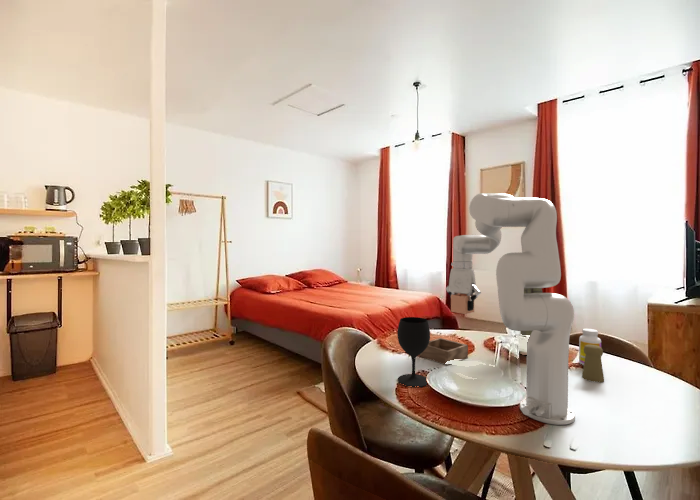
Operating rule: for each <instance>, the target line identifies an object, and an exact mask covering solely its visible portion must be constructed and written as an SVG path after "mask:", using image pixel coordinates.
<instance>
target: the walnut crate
mask: <svg viewBox="0 0 700 500" xmlns="http://www.w3.org/2000/svg"><path fill="white" fill-rule="evenodd" d="M419 357H420V358H424V359H427V360H430V361H432V362H437V363H439V364H442V365H445V363H446V362H447V361H450V360H454V359H464V360H466V359H468V358H469V345H468V344H465V343H461V342H457V341H453V340H449V339H446V338H442V337H439V338H436V339H432V340H431V339H430V341H429V344H428V346H427V348H426V349H425V350H424V351H423V352H422V353H421V354H420V355H419Z"/></svg>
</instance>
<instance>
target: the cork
mask: <svg viewBox="0 0 700 500" xmlns="http://www.w3.org/2000/svg"><path fill="white" fill-rule="evenodd" d="M584 353H585V354H586V356H585V362H584V365H583V369H582V374H581V378H582V379H583V380H585V381H587V382H591V383H592V382H593V383H600V384H601V383H604V382H605V376H604V370H603V364H602V363H603V362H602V356H603V354H604V350H603V348H602V346H601V347H599V346H596V345H586V346H585V347H584Z"/></svg>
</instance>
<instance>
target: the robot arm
mask: <svg viewBox="0 0 700 500" xmlns="http://www.w3.org/2000/svg"><path fill="white" fill-rule="evenodd" d="M468 209H469V210H468V211H469V214H470V216H471V218H472V219H474V220H475V222H474V224H475V228H476V230H477V231H478V232H479V233H480V234H462V235H455V236H454V237H453V238H452V239H453V240H452V245H453V246H452V249H453V250H452V251H453V252H452V257H453V258H452V259H453V260H452V262H451V264H450V265H451V266H452V268H451V269H450V273H449V280H448V285H447V286H446V287H445V290H446V292H447V293H448V296H450V297H451V295H453V294H467V296H468V299H469V301H468V311H471V310H473V308H474V309H475V300H477V298H478V297H479V296H480V295H481V294H482V292H481V290H479V288H478V287H477V285H476V274H475V271H474V269H473V255H488V254H491V253H492V252H494V251H495V250H496V249H497V248H498V247H499V245H500V244H501V241H502V228H522V227H523V228H524V229H523V231H522V234H521V236H520V244H521V252H520V251H519V252H508V253H505V254H503V255H502V256H500V258H499V260H498V262H497V265H496V270H495V276H496V278H495V279H496V286H497V296H498V298H497V299H498V306H499V314H500V317H501V321H502V323H503V325H504V326H505V327H506V328H507V329H508V330H511V331H514V332H520V331H532V333H531V335H530V337H529V339H528V342H527V356H526V390H525V391H526V398H525V399H526V400H524V399H523V400H524V401H523V402H521V401H520V402H521V403H519V409H520V411H521V412H522V414H523V415H525V416H527V417H528V418H531V419H533V420H536V421H538V422H541V423H545V424H549V425H554V426H555V425H558V426H562V425H570V424H572V423H574V421H576V420H575V419H576V414H575V412H574V410H572V409H571V408H570V407H569V399H568V398H569V358H570V357H569V354H570V352H569V350H570V336H571V331H572V325H573V323H574V318H575V317H574V316H575V310H574V306H573V303H572V302H571V301H570V299H569V298H567V297H566V296H565V295H562V294H559V293H555V292H554V293H553V292H542V293H531V294H524V288H542V289H544V288H551V287H552V288H553V287H555V286H557V285H558V284H560V281H561V277H562V272H561V271H562V270H561V269H562V268H561V260H560V253H559V247H558V242H557V241H558V240H557V222H558V217H557V216H558V213H557V210H556V209H557V208H556V207H555V205H554V203H552V201H551V200H548V199H546V198H541V197H540V198H539V197H514V196H513V195H511V194H508V193H502V192H500V193H499V192H497V193H496V192H487V193H486V192H482V193H477V194H476V195H474V196H473V197H472V199H471V201H470V203H469V207H468Z"/></svg>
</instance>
